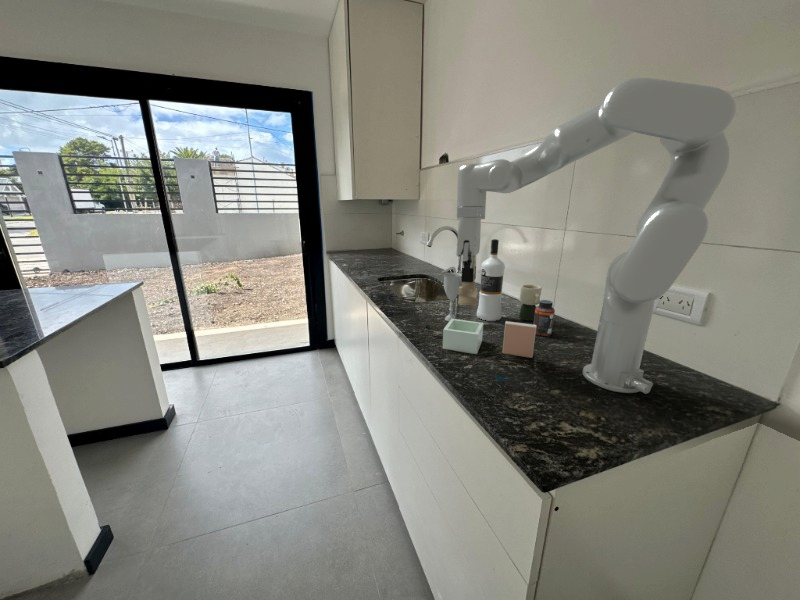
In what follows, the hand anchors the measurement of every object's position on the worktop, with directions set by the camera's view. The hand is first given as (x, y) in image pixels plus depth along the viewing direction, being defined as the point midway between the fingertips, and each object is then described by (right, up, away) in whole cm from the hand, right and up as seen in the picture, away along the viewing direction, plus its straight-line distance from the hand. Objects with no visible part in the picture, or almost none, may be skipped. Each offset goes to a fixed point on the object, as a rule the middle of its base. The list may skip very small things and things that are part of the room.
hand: (468, 280), depth 90 cm
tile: (+14, -22, 0) cm, 26 cm away
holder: (0, -20, +6) cm, 21 cm away
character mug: (+29, -13, +30) cm, 44 cm away
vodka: (+15, -13, +32) cm, 38 cm away
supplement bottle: (+29, -17, +17) cm, 38 cm away
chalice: (-1, -14, +28) cm, 31 cm away
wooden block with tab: (0, -7, +2) cm, 7 cm away
